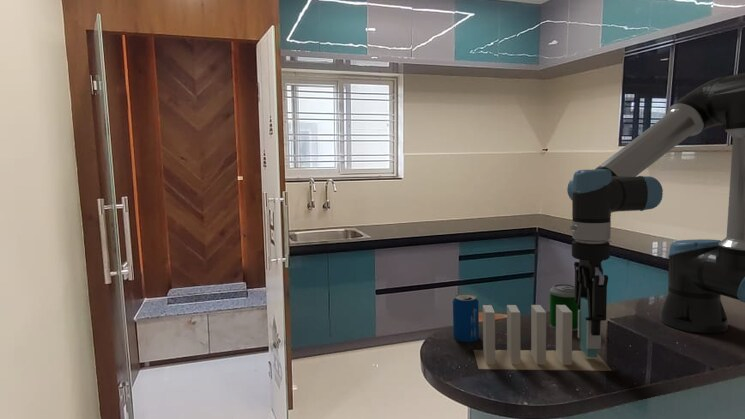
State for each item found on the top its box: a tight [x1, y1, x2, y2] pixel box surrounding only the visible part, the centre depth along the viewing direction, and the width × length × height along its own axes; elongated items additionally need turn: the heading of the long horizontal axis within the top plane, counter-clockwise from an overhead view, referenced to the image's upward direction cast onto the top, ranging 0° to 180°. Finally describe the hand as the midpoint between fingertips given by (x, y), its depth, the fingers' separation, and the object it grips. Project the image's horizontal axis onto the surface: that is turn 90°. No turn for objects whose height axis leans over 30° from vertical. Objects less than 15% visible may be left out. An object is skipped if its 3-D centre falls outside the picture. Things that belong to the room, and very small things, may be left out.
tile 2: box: [555, 305, 573, 365], centre depth 102 cm, size 2×5×12 cm, turn 174°
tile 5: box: [482, 304, 496, 364], centre depth 104 cm, size 2×5×12 cm, turn 174°
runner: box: [473, 349, 613, 372], centre depth 103 cm, size 28×10×1 cm, turn 84°
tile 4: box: [506, 304, 521, 364], centre depth 103 cm, size 2×5×12 cm, turn 174°
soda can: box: [549, 283, 579, 332], centre depth 122 cm, size 8×8×12 cm
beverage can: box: [452, 292, 480, 343], centre depth 117 cm, size 6×6×12 cm
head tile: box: [579, 297, 598, 357], centre depth 101 cm, size 2×5×12 cm, turn 174°
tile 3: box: [530, 304, 547, 365], centre depth 103 cm, size 2×5×12 cm, turn 174°
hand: (588, 342), depth 101 cm, fingers closed on head tile, 5 cm apart
